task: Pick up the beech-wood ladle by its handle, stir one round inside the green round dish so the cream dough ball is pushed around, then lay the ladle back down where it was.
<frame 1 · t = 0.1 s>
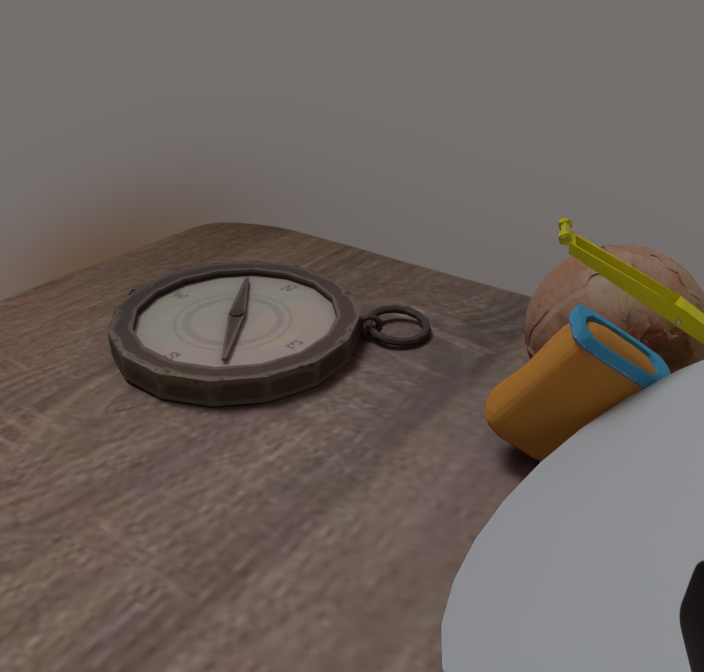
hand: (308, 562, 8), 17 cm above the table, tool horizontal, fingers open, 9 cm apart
onion: (619, 362, 32), point 6 cm above the table
compass: (255, 343, 45), on the table
grey round disc: (652, 496, 22), point 7 cm above the table, touching toy 5
toy 5: (589, 494, 35), on the table, touching grey round disc
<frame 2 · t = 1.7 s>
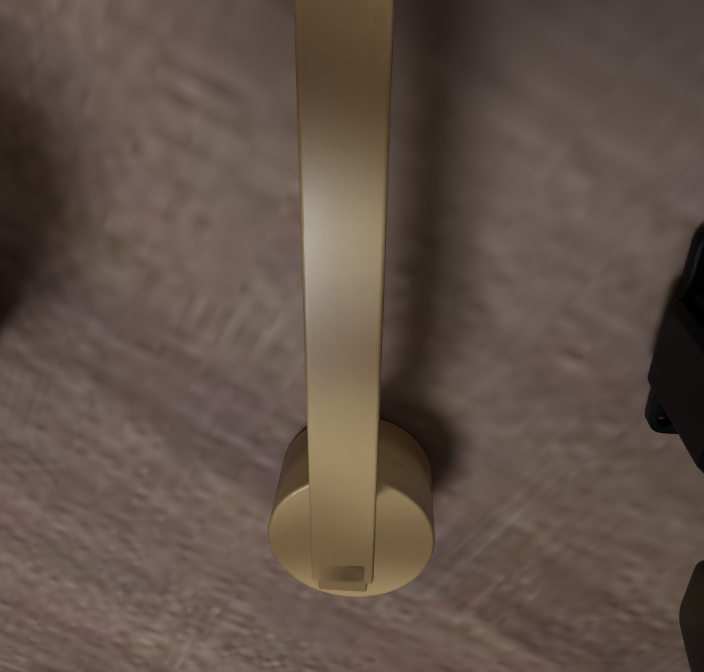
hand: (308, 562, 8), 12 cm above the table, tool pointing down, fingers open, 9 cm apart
ladle: (360, 219, 18), on the table
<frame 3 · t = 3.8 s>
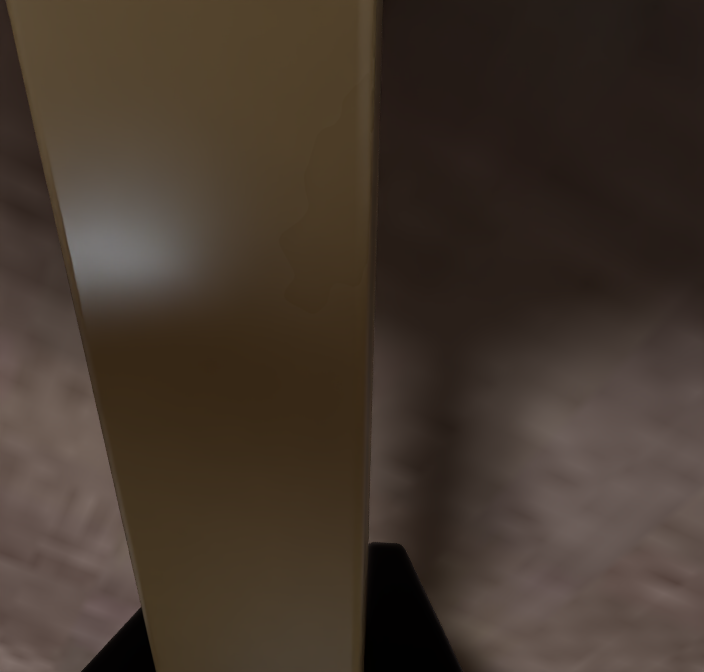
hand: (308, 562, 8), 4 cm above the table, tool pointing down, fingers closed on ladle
ladle: (332, 393, 11), on the table, touching gripper
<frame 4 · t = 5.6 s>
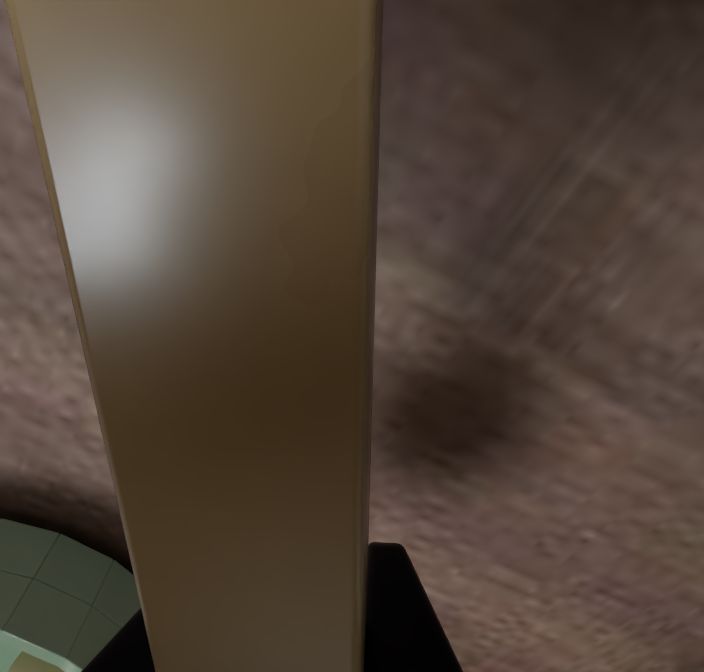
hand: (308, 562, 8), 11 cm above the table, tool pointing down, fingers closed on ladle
green round dish: (30, 624, 27), on the table
dough ball: (83, 640, 26), point 1 cm above the table, touching green round dish
ladle: (333, 391, 11), point 8 cm above the table, touching gripper
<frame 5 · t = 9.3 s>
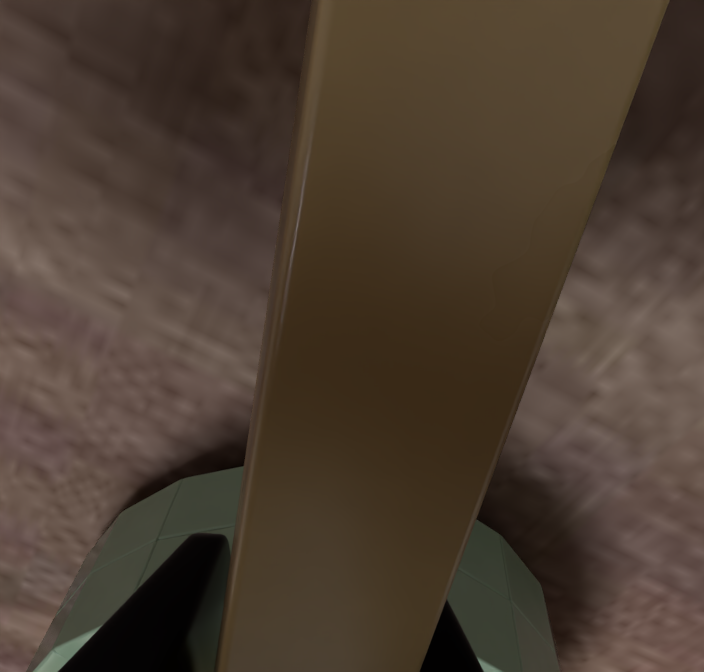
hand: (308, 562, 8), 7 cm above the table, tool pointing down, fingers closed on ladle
green round dish: (314, 624, 20), on the table
ladle: (292, 402, 11), point 4 cm above the table, tilted 8°, touching gripper
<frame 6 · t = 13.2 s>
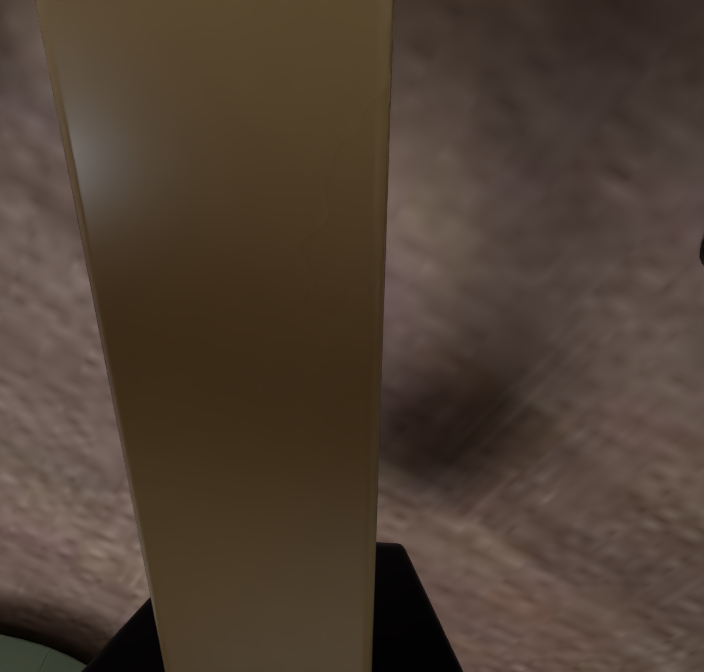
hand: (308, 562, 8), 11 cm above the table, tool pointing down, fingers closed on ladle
ladle: (313, 407, 11), point 7 cm above the table, touching gripper
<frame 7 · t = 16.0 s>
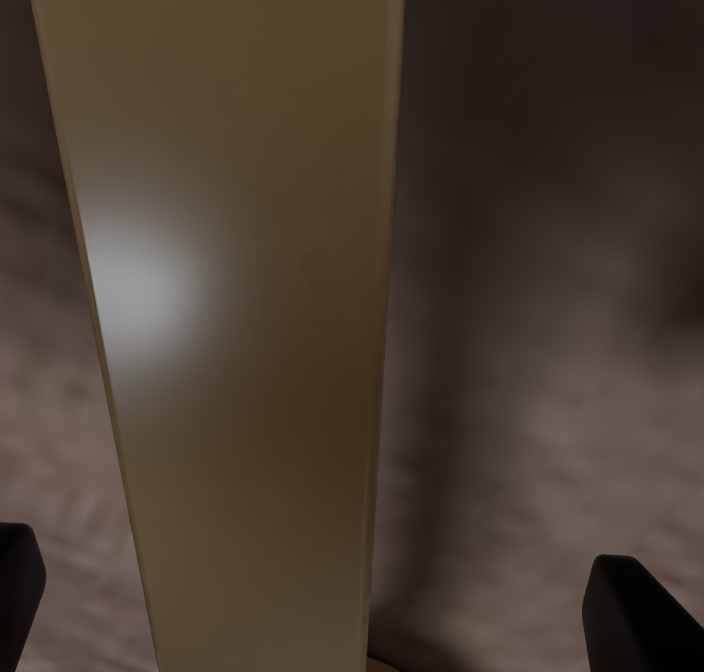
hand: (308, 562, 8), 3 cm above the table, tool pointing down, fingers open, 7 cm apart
ladle: (333, 398, 11), on the table
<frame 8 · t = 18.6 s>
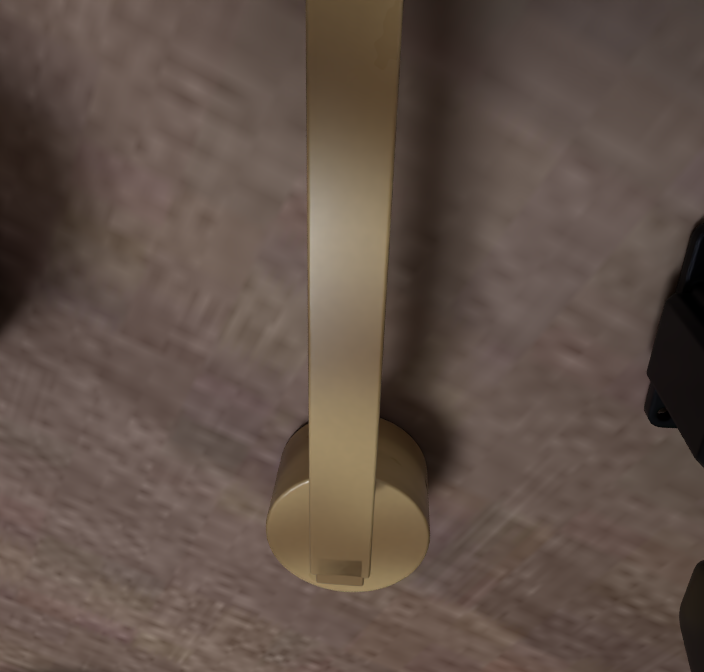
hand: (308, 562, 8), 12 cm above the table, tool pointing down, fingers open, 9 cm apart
ladle: (362, 220, 18), on the table
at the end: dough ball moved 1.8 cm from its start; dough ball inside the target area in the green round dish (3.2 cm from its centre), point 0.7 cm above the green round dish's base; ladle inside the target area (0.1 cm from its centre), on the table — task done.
